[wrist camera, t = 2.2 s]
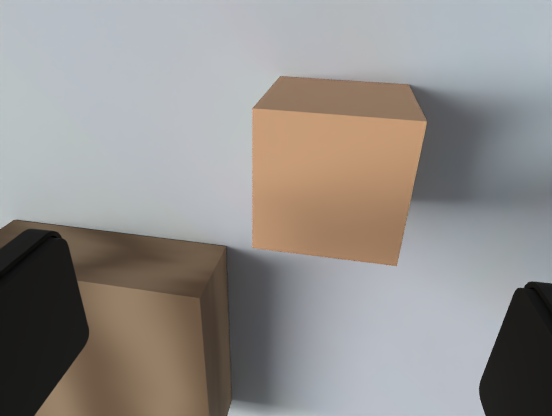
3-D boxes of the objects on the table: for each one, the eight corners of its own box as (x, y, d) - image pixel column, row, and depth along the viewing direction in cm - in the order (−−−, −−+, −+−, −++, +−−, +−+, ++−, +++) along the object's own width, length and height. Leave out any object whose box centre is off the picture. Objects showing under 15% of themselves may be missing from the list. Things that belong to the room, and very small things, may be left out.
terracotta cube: (408, 84, 16) (426, 121, 11) (387, 199, 18) (396, 266, 14) (280, 75, 17) (252, 108, 12) (276, 188, 19) (252, 247, 15)
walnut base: (225, 246, 21) (199, 298, 17) (231, 400, 27) (212, 462, 23) (14, 220, 23) (-49, 262, 19) (62, 370, 28) (21, 424, 25)
